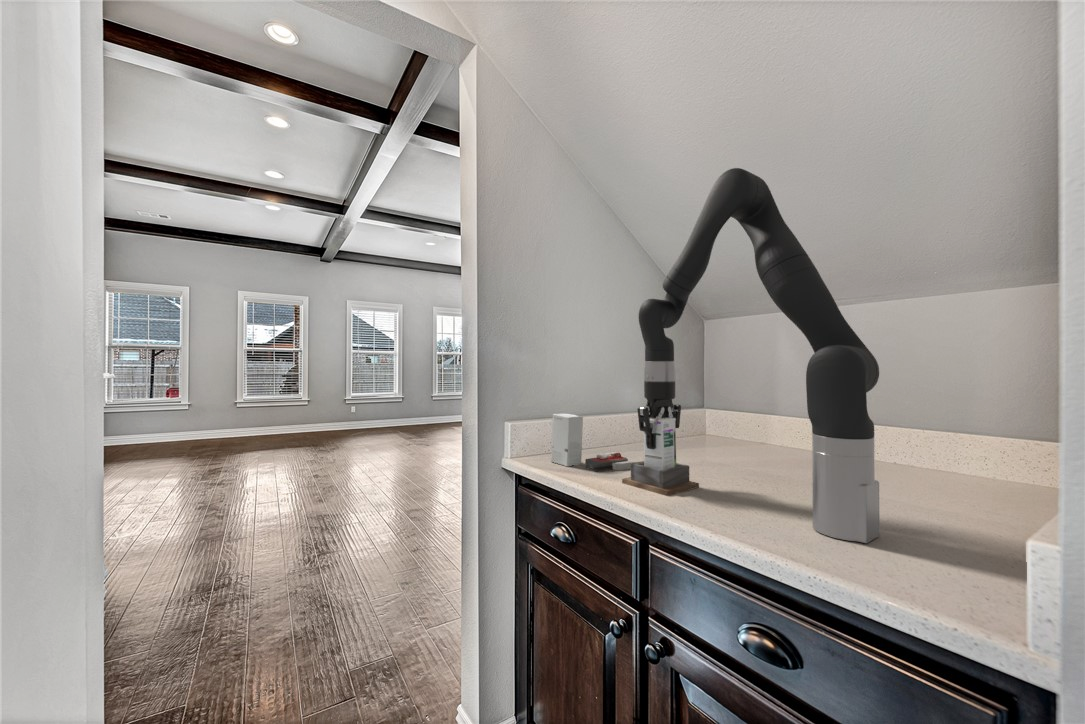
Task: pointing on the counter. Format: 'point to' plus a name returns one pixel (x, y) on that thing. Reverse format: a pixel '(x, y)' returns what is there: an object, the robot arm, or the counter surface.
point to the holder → (660, 479)
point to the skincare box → (566, 439)
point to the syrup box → (662, 445)
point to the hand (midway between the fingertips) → (660, 447)
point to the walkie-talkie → (608, 462)
